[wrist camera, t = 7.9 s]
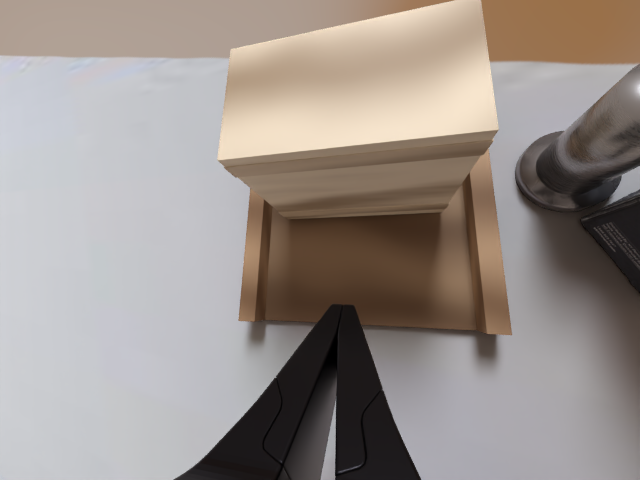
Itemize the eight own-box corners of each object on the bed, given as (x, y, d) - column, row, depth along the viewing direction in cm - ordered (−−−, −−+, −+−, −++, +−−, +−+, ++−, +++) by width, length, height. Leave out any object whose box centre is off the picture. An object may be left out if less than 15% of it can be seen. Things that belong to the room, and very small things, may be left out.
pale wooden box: (443, 212, 17) (500, 130, 9) (287, 220, 20) (216, 161, 11) (436, 132, 19) (481, -7, 10) (291, 148, 21) (230, 48, 13)
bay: (496, 330, 16) (521, 337, 13) (252, 318, 20) (230, 322, 17) (472, 116, 19) (487, 84, 16) (266, 141, 23) (249, 119, 20)
